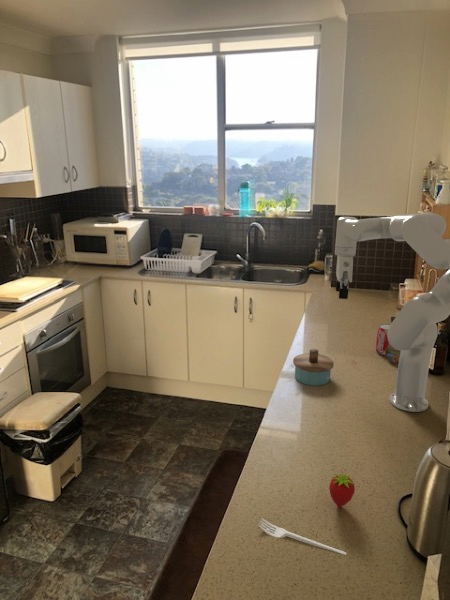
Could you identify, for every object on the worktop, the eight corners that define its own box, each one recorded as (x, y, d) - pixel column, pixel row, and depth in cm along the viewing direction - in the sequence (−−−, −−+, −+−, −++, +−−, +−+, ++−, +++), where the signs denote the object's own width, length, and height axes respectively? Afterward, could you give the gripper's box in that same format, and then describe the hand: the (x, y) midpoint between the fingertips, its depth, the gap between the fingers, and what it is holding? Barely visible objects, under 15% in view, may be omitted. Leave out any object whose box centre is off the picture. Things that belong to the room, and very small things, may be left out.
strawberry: (354, 499, 119) (358, 465, 116) (350, 520, 113) (354, 484, 110) (330, 493, 121) (333, 459, 118) (325, 513, 115) (328, 478, 112)
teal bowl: (330, 386, 176) (332, 371, 174) (295, 384, 177) (296, 369, 175) (327, 371, 188) (328, 357, 186) (294, 369, 190) (295, 355, 188)
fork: (345, 562, 102) (346, 555, 102) (256, 532, 109) (257, 525, 109) (347, 551, 105) (348, 544, 104) (261, 522, 112) (261, 515, 112)
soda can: (393, 356, 202) (396, 330, 198) (376, 355, 203) (379, 328, 200) (391, 350, 208) (394, 324, 205) (374, 348, 210) (377, 323, 206)
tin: (383, 361, 198) (386, 342, 195) (385, 358, 200) (387, 339, 198) (422, 369, 191) (425, 349, 188) (423, 366, 194) (426, 346, 191)
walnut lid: (335, 375, 173) (336, 360, 171) (293, 372, 175) (294, 357, 173) (331, 358, 187) (332, 344, 186) (292, 356, 189) (293, 341, 187)
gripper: (359, 256, 169) (354, 302, 174) (352, 246, 185) (348, 288, 191) (337, 255, 170) (333, 301, 175) (332, 245, 186) (329, 288, 191)
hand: (341, 294), depth 183 cm, fingers open, 9 cm apart
